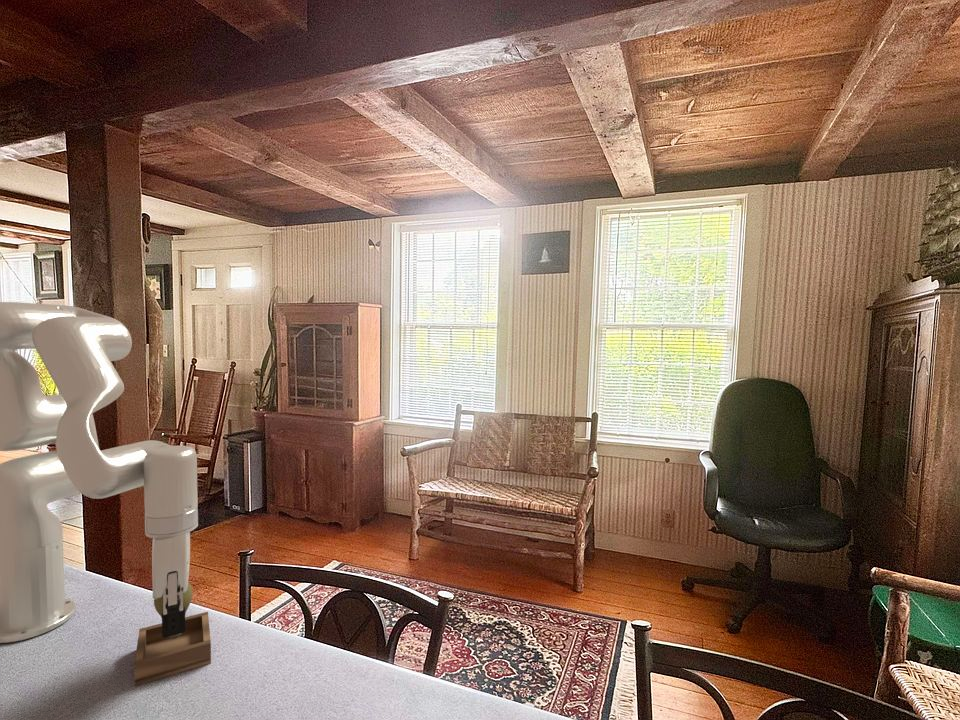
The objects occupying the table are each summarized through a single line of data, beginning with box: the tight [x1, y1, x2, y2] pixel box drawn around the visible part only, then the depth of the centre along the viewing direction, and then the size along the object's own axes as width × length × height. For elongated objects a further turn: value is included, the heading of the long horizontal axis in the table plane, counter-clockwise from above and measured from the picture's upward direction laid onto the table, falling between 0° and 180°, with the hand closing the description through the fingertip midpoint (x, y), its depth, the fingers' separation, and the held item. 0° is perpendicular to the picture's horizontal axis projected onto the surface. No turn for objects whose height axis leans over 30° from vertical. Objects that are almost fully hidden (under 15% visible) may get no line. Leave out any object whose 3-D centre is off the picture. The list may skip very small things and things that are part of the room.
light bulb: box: [153, 581, 194, 639], centre depth 81 cm, size 6×6×10 cm
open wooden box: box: [133, 611, 212, 687], centre depth 82 cm, size 10×10×4 cm
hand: (174, 623), depth 82 cm, fingers closed on light bulb, 5 cm apart
